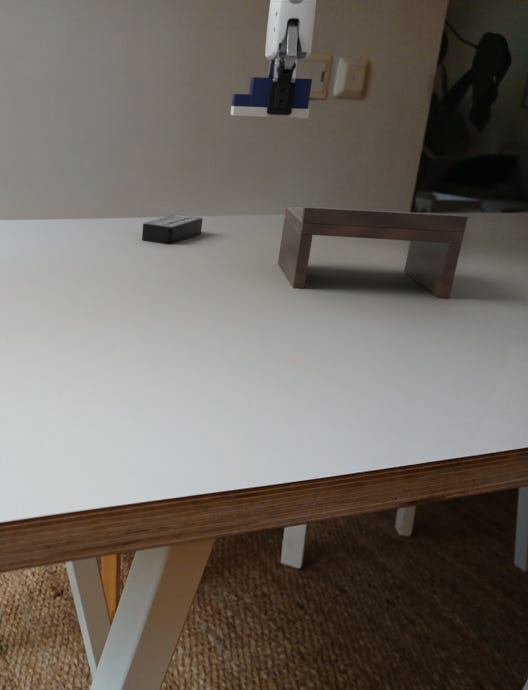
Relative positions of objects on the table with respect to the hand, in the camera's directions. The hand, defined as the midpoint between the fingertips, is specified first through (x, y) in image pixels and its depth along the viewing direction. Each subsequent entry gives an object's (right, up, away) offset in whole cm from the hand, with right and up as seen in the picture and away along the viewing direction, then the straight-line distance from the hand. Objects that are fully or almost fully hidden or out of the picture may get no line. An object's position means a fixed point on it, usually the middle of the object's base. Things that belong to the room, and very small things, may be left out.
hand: (276, 112), depth 102 cm
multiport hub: (-14, -17, +3) cm, 22 cm away
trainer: (-1, 0, 0) cm, 1 cm away
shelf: (+4, -25, -18) cm, 31 cm away
